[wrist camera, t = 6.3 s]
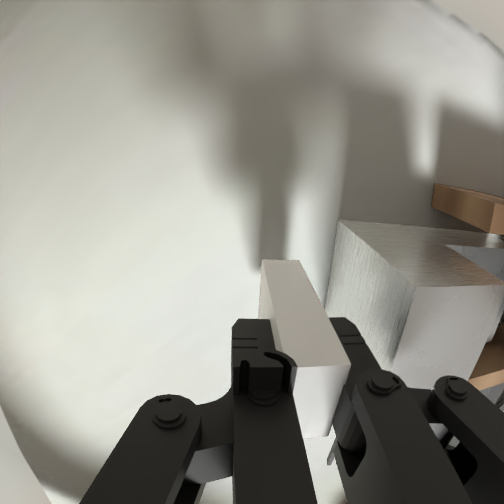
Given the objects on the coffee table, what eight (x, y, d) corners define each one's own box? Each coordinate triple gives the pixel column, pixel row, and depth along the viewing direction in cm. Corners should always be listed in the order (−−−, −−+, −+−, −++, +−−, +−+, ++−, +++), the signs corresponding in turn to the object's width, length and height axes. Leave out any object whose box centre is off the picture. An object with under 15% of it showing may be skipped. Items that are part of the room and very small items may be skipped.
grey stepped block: (321, 325, 16) (365, 428, 9) (337, 219, 14) (416, 287, 7) (465, 316, 17) (530, 381, 10) (488, 233, 15) (574, 280, 8)
